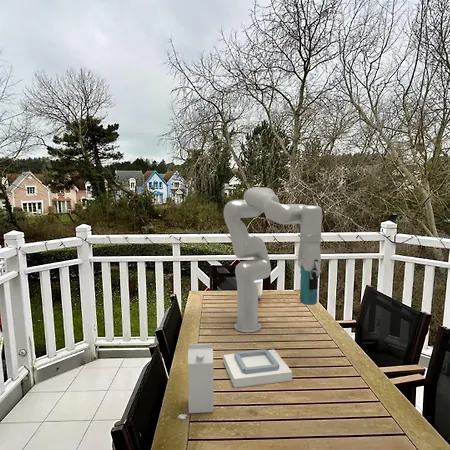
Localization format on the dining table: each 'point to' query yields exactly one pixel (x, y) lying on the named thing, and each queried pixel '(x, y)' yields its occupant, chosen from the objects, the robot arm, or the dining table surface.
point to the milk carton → (200, 378)
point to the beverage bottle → (307, 289)
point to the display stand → (256, 368)
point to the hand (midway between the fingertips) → (308, 286)
